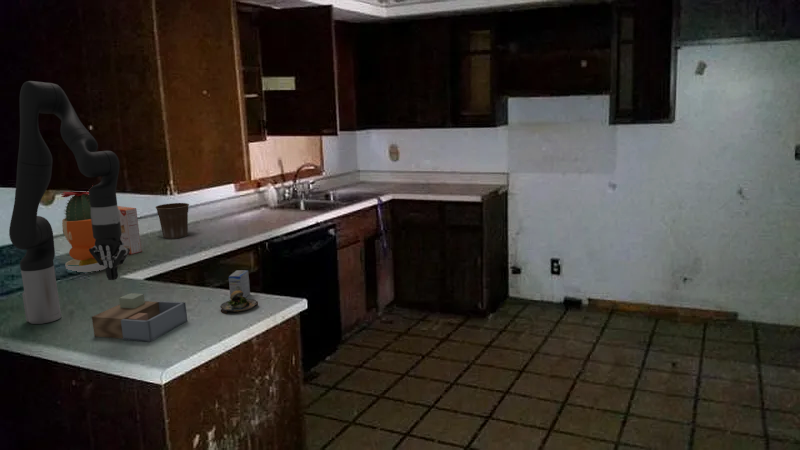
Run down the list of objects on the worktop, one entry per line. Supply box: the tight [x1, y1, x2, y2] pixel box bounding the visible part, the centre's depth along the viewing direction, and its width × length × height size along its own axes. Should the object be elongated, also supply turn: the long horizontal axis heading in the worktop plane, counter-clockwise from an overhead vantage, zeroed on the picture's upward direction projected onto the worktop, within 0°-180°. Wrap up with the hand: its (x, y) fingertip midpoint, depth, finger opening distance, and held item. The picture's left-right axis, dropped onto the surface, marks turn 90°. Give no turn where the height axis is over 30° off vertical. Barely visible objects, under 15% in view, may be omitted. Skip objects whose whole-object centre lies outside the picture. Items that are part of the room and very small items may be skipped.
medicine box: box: [228, 269, 251, 299], centre depth 224 cm, size 8×4×9 cm, turn 175°
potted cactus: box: [60, 191, 114, 273], centre depth 273 cm, size 22×22×35 cm
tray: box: [121, 300, 188, 343], centre depth 195 cm, size 9×18×6 cm, turn 163°
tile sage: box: [118, 292, 146, 308], centre depth 200 cm, size 5×5×3 cm
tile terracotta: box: [128, 313, 148, 321], centre depth 192 cm, size 5×5×3 cm
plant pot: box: [155, 202, 190, 240], centre depth 334 cm, size 16×16×16 cm
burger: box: [220, 289, 259, 315], centre depth 212 cm, size 12×12×8 cm
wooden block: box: [91, 300, 160, 339], centre depth 198 cm, size 11×16×6 cm
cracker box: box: [117, 205, 143, 255], centre depth 302 cm, size 14×6×21 cm, turn 55°
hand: (112, 279), depth 191 cm, fingers closed
